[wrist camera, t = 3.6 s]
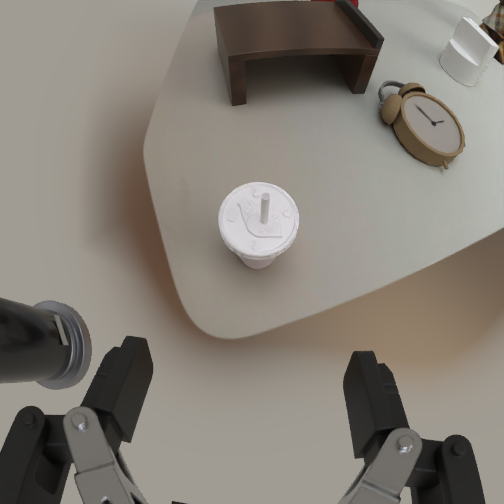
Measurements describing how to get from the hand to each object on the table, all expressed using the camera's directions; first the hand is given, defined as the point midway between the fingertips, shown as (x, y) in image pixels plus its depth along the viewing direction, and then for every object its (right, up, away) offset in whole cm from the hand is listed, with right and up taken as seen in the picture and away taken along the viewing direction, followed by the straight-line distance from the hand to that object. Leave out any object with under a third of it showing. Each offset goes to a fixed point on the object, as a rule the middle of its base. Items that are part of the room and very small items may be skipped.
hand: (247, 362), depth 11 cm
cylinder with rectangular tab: (+42, +41, +33) cm, 67 cm away
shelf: (+6, +33, +30) cm, 45 cm away
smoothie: (+1, +4, +22) cm, 23 cm away
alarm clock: (+24, +23, +27) cm, 43 cm away
